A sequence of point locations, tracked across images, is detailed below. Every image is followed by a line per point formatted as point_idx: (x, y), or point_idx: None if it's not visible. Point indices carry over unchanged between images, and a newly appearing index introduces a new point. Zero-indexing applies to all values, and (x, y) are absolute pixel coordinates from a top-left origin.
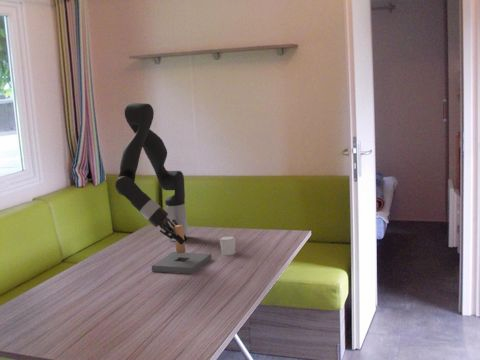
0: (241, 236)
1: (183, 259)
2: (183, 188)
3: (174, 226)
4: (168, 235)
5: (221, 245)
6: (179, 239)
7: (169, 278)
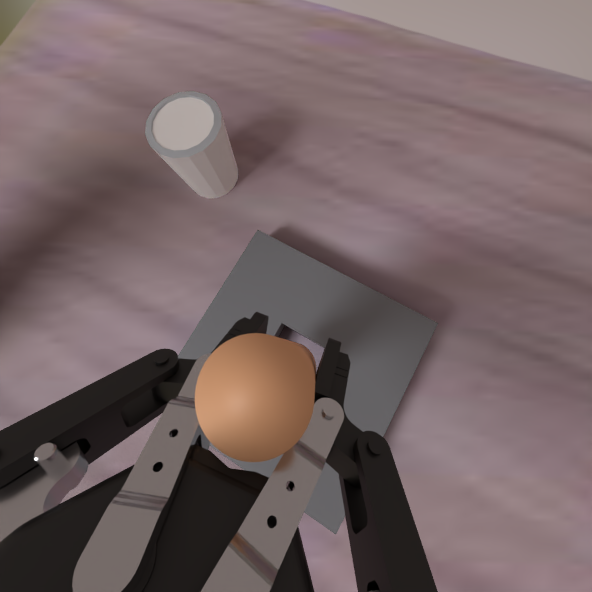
0: (29, 121)
1: None
2: None
3: (253, 458)
4: (366, 516)
5: (207, 172)
6: (345, 381)
7: (458, 428)
